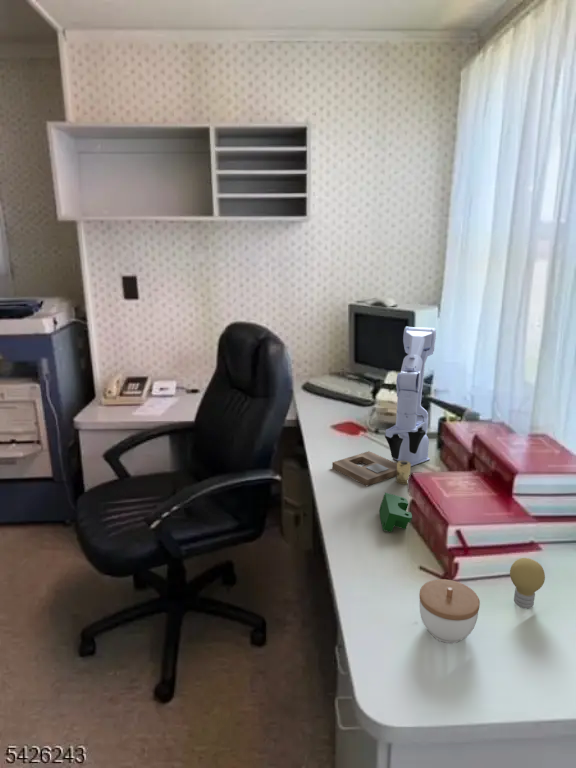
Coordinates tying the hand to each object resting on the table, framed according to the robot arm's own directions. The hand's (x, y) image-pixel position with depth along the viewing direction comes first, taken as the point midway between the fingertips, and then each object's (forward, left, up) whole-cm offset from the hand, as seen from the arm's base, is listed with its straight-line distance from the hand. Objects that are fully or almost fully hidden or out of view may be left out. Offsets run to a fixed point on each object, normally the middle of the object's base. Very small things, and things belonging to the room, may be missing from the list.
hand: (404, 455), depth 164 cm
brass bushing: (0, 0, -9) cm, 9 cm away
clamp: (+20, +16, -9) cm, 27 cm away
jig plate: (+3, -12, -9) cm, 15 cm away
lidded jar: (+42, +50, -9) cm, 66 cm away
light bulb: (+23, +54, -9) cm, 59 cm away
